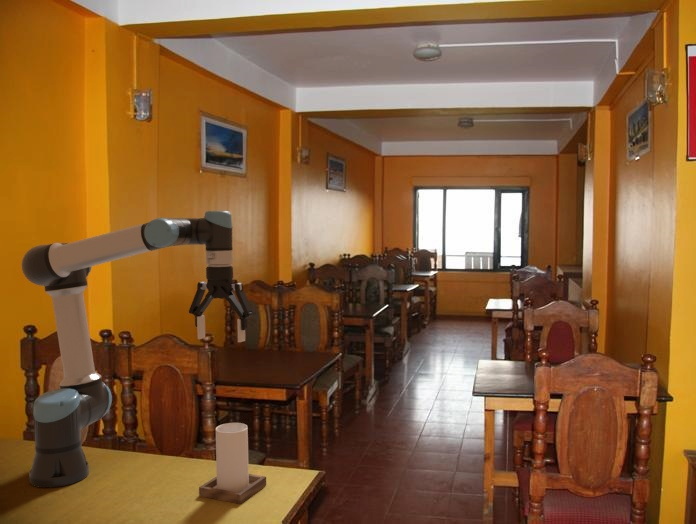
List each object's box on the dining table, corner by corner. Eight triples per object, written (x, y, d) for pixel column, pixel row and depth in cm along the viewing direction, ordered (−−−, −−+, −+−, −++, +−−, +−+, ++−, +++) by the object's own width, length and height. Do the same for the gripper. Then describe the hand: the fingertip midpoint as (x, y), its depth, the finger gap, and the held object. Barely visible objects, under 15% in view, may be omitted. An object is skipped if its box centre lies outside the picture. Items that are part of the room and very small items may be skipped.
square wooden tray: (199, 496, 168) (199, 487, 168) (226, 478, 180) (226, 470, 180) (240, 503, 163) (240, 494, 163) (266, 485, 175) (266, 476, 175)
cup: (210, 490, 170) (208, 430, 169) (230, 479, 177) (228, 421, 176) (236, 496, 166) (234, 434, 165) (255, 484, 173) (253, 425, 172)
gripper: (175, 265, 186) (177, 339, 188) (250, 267, 176) (251, 345, 178) (191, 263, 193) (193, 335, 195) (264, 265, 183) (266, 340, 185)
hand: (221, 340), depth 186 cm, fingers open, 13 cm apart
